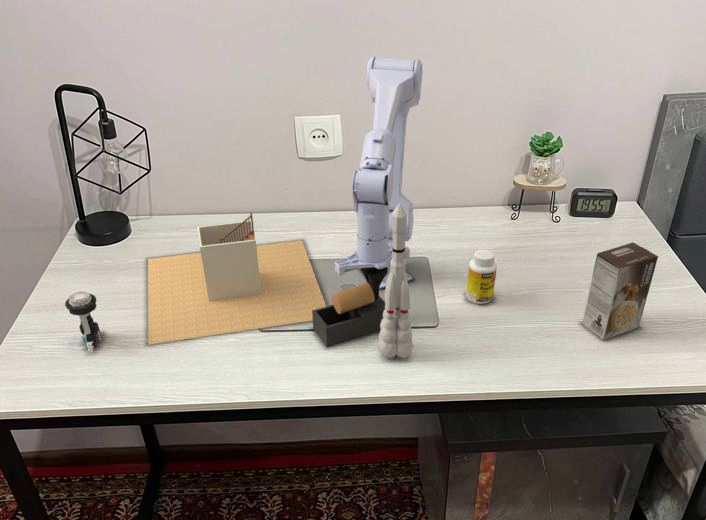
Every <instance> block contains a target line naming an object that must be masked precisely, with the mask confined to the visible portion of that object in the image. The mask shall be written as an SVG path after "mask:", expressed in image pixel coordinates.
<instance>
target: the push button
mask: <svg viewBox="0 0 706 520" xmlns="http://www.w3.org/2000/svg"><path fill="white" fill-rule="evenodd" d="M64 306H65V308H66V309H67V310H68V312H69V314H70V315H73V316H78V317H79V319H80V324H79V330H80V333H81V337H82V341H83V343H84V345H85V348H86V349H87V352H92V351H93V349H94V348H97V344H98V340H99V341H101V339H102V336H101V329H100V326H99V323H98V322H97V321H94V317H92V315H91V313H92V312H93V311H95V310H96V308H97V297H96V295H94V294H93V293H89V292H88V291H77V292H74V293H72V294H70V295H69V296H68V298H67V299H66V300H65V303H64Z"/></svg>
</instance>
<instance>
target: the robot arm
mask: <svg viewBox="0 0 706 520" xmlns="http://www.w3.org/2000/svg"><path fill="white" fill-rule="evenodd" d="M365 78H366V79H365V81H366V88H367V91H368V94H369V96H370V98H371V101H372V103H374V110H373V111H374V112H373V113H374V114H373V123H372V125H373V126H372V130H370V131H368V132H367V133H366V134H365V136H364V140H363V146H362V150H361V151H362V152H361V157H360V162H359V168H358V170H354V173H353V177H352V184H351V193H352V200H353V207H354V209H353V210H354V212H355V213H356V252H354V253H352V254H350V255H348V256H346V257H345V258H343V259H340V260H337V261H335V262H334V272H335V273H336V274H337V275H338V276H339V277H341V276H344V275H345V273H350V272H353V271H356V270H357V271H358V270H361V272H362V274H363V276H364V278H365V280H366V283H368V284H369V285H370V286H371V288H372V290H373V293H374V300H377V299H379V296H380V289H384V288H386V281H387V278H388V276H389V274H390V272H391V260H392V246H393V231H392V213H393V211H394V210H395V209H396V207H397V206H398V204H399V203H400V204H401V205H402V207H403V208H404V210H405V211H406V213H407V227H406V232H405V242H409V241H410V240H411V239H412V237H413V229H414V205H413V202H412V201H411V200H410V199H409V198H408V197H406V196H405V195H404V194H403V193H402V187H403V174H404V173H403V171H404V157H405V145H406V132H407V119H408V116H409V112H410V110H411V108H414V107H416V106H419V104H420V103H419V102H420V100H421V92H422V81H423V63H422V61H421V59H419V58H415V59H409V58H392V57H391V58H390V57H389V58H388V57H386V58H385V57H376V56H371V57H370V59H369V60H368V62H367V66H366V77H365ZM410 254H411V249H410V247H408V246H407V245H406V244H405V255H404V260H405V261H406V260H407V259H409V258H410V257H411V256H410ZM405 274H406V277H407V279H408V282H409V281H412V280H413V277H412V276H411V275H410V274H409V273H408V272H407V271H405Z"/></svg>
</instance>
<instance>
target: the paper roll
mask: <svg viewBox="0 0 706 520" xmlns="http://www.w3.org/2000/svg"><path fill="white" fill-rule="evenodd" d="M331 300H332V301H331V302H332V305H334V308H335V310H336V311H337V313H338V314H342V313H345V312H348V311H350V310H353V309H356V308H359V307H362V306H365V305H368V304H371V303H373V302H374V293H373V290H372V288H371V286H370V285H369V284H368V283H367V282H364V283H361V284H359V285H355V286H352V287H349V288H346V289H342V290H341V291H337V292H333V293H332V294H331Z"/></svg>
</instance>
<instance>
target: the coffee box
mask: <svg viewBox="0 0 706 520" xmlns="http://www.w3.org/2000/svg"><path fill="white" fill-rule="evenodd" d="M658 259H659V256H658V255H657V254H655V253H653V252H651V250H648V249H647V248H645V247H644V246H640V245H639V244H637V243H635V242H630V243H627V244H623V245H620V246H617V247H613V248H609V249H607V250H603V251H599V252H597V253H596V257H595V262H594V267H593V272H592V276H591V281H590V286H589V289H588V295H587V301H586V303H585V304H586V305H585V308H584V313H583V318H582V323H581V324H582V325H583V326H584V327H586V328H587V329H588V330H590V331H591V333H593V334H595V335H596V336H597V337H599V338H600V339H601V340H603V341H605V340H608V339H611V338H614V337H617V336H619V335H622V334H624V333H627V332H630V331H633V330H636V329H638V328H639V327H640V324H641V321H642V317H643V313H644V309H645V306H646V303H647V300H648V295H649V292H650V289H651V284H652V280H653V277H654V274H655V269H656V265H657V262H658Z"/></svg>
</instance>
